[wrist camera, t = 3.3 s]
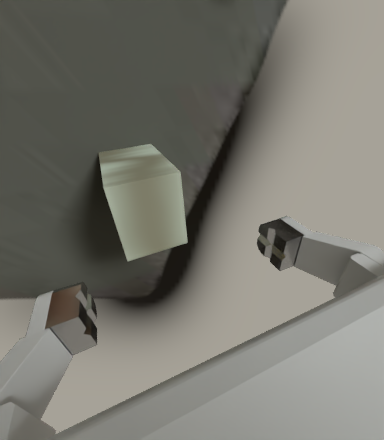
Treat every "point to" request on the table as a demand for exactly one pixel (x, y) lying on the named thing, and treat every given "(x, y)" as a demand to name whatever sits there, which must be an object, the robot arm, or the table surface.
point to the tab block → (144, 199)
